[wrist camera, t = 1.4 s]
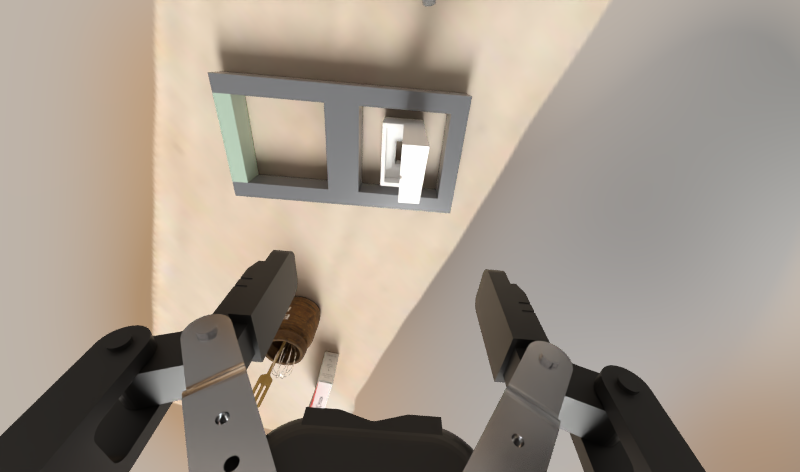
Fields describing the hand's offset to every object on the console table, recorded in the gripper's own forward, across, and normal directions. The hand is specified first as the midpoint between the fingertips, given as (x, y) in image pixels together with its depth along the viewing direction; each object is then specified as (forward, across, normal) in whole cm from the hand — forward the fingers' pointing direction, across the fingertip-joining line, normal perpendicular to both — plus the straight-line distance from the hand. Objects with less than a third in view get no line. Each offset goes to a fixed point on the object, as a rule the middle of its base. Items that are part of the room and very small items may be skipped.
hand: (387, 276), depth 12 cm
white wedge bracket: (+20, 0, 0) cm, 20 cm away
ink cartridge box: (+20, +9, +38) cm, 44 cm away
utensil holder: (+20, +12, +24) cm, 34 cm away
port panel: (+20, +5, 0) cm, 21 cm away
